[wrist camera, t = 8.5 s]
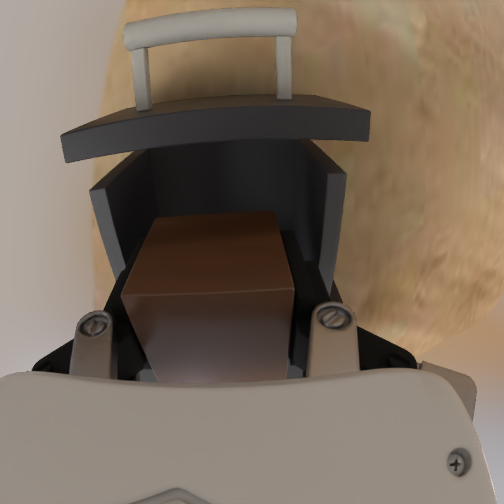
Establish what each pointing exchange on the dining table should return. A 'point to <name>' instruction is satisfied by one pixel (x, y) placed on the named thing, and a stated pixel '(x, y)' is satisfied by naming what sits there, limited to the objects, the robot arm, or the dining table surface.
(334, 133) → the handled drawer
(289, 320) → the block
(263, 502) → the robot arm
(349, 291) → the dining table surface
